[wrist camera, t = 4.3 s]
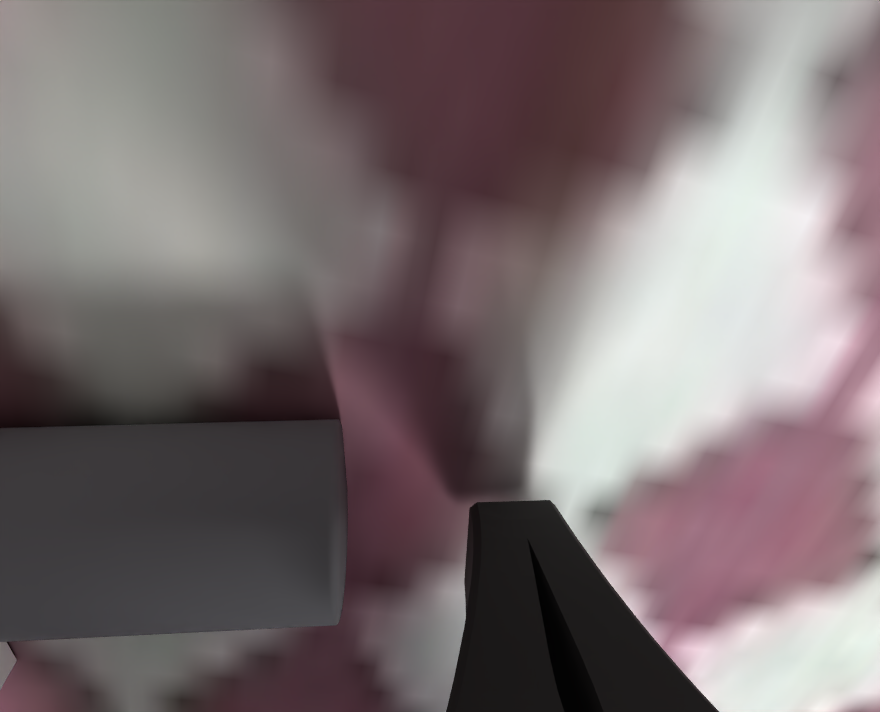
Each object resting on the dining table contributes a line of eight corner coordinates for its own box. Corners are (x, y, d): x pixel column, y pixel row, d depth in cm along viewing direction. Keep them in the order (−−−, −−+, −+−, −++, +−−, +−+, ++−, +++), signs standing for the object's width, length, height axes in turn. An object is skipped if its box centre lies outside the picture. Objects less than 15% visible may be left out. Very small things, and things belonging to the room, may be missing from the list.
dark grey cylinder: (347, 430, 11) (328, 405, 8) (347, 605, 10) (324, 648, 7) (-115, 443, 10) (-318, 421, 7) (-150, 629, 10) (-391, 685, 7)
